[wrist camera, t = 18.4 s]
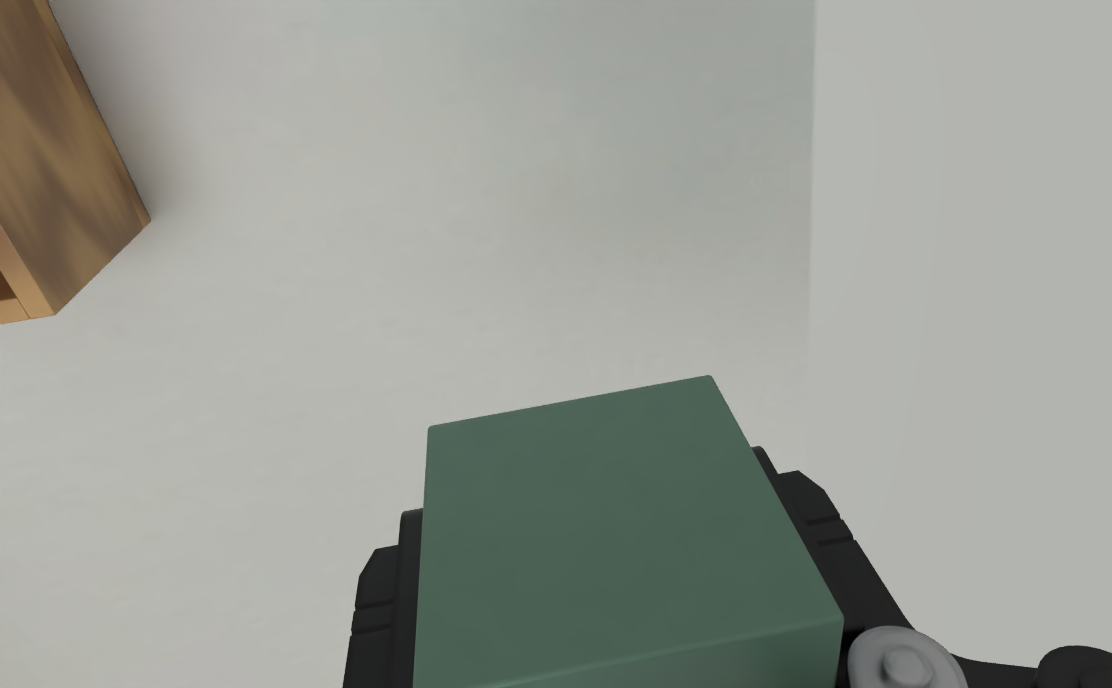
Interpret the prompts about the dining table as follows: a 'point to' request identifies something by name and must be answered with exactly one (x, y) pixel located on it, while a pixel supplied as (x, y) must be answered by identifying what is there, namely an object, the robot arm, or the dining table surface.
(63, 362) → the dining table surface
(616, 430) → the block
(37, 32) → the compartment
